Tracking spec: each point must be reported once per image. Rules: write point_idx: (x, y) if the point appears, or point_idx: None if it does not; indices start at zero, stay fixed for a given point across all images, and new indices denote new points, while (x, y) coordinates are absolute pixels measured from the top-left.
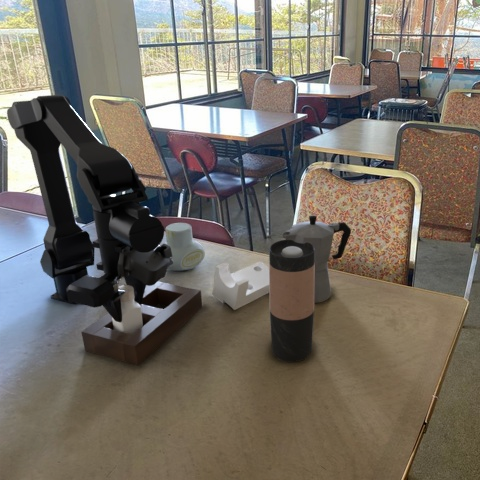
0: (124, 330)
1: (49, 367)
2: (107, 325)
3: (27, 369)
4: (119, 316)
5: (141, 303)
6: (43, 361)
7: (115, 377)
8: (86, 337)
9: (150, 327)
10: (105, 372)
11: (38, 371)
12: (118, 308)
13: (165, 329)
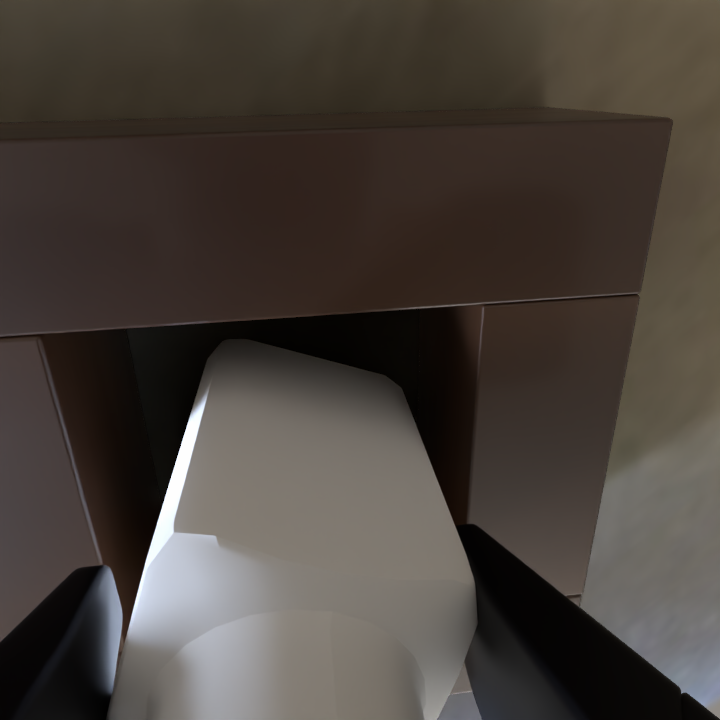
0: (416, 441)
1: (674, 579)
2: None
3: (703, 639)
4: (539, 579)
5: (49, 600)
6: (635, 633)
7: (707, 177)
8: None
9: (277, 218)
10: (666, 285)
11: (710, 593)
12: (660, 702)
13: (95, 128)
